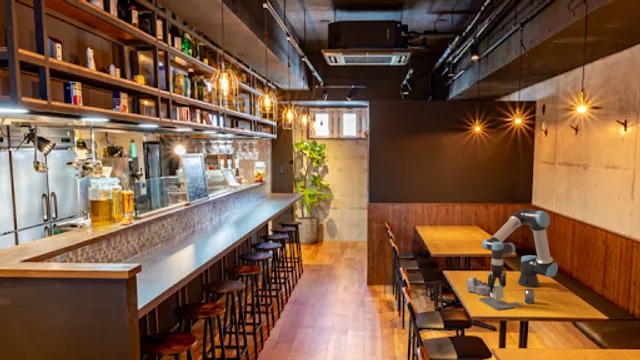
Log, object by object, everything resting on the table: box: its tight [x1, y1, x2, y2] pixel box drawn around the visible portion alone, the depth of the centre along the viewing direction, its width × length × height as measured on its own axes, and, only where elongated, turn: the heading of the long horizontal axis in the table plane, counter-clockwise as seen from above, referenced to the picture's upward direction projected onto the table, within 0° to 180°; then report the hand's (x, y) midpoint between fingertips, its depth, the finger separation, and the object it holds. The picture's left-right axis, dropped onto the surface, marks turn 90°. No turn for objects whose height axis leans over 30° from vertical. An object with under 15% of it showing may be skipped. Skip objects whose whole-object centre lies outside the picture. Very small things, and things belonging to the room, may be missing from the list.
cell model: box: [465, 276, 490, 297], centre depth 313 cm, size 13×11×20 cm
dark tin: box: [524, 288, 535, 305], centre depth 293 cm, size 6×6×9 cm
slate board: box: [478, 296, 516, 311], centre depth 291 cm, size 14×20×1 cm
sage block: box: [489, 283, 504, 299], centre depth 290 cm, size 6×6×8 cm
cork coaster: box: [510, 301, 525, 308], centre depth 289 cm, size 8×8×1 cm
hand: (496, 296), depth 290 cm, fingers closed on sage block, 6 cm apart
